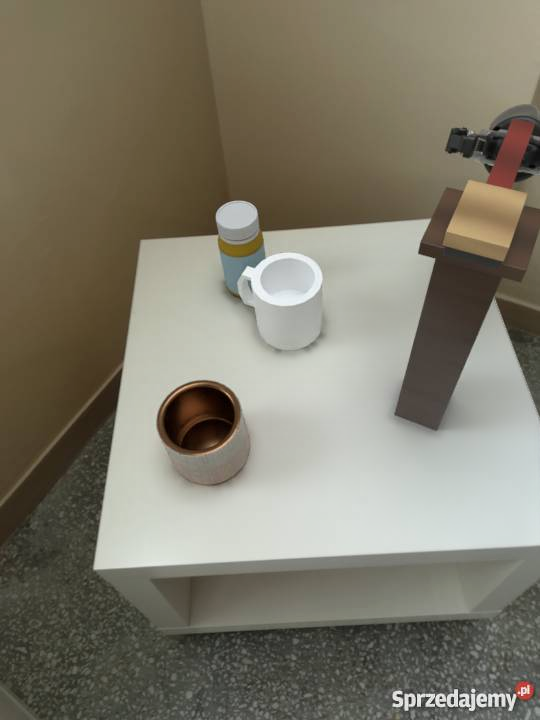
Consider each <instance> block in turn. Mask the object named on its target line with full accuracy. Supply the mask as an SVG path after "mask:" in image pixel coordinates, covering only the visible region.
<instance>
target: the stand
mask: <svg viewBox="0 0 540 720" xmlns="http://www.w3.org/2000/svg"><path fill="white" fill-rule="evenodd" d="M463 192H464V190H462V189H457V188H453V187H448V186H446V187H445V188H444V191H443V193H442V195H441V197H440V199H439V201H438V203H437V206H436V208H435V210H434V212H433V214H432V217H431V218H430V220H429V223H428V225H427V227H426V229H425V230H424V233H423V235H422V238H421V240H420V242H419V246H418V251H417V254H418V255H421V256H425V257H428V258H431V259H434V263H433V266H432V270H431V274H430V278H429V281H428V285H427V290H426V293H425V296H424V301H423V304H422V308H421V312H420V316H419V320H418V323H417V327H416V330H415V334H414V338H413V343H412V346H411V350H410V354H409V358H408V361H407V365H406V369H405V373H404V377H403V380H402V383H401V388H400V391H399V395H398V400H397V403H396V406H395V411H394V416H396V417H398V418H402V419H404V420H406V421H410V422H413V423H415V424H417V425H420V426H423V427H426V428H428V429H431V430H434V431H438V429H439V427H440V425H441V423H442V419H443V418H444V415H445V413H446V410H447V408H448V405H449V403H450V401H451V399H452V396H453V394H454V392H455V389H456V387H457V385H458V382H459V380H460V379H461V375H462V373H463V371H464V369H465V366H466V364H467V362H468V359H469V356H470V354H471V352H472V349H473V348H474V345H475V342H476V340H477V338H478V335H479V333H480V332H481V328H482V326H483V324H484V322H485V320H486V318H487V315H488V312H489V310H490V307H491V305H492V304H493V301H494V299H495V297H496V294H497V291H498V289H499V287H500V284H501V282H502V279H506V280H510V281H512V282H513V281H514V282H517V283H522V282H523V281H524V277H525V276H526V273H527V271H528V269H529V265H530V261H531V259H532V255H533V252H534V249H535V246H536V242H537V240H538V236H539V234H540V208H537V207H533V206H529V205H525V204H524V207H523V210H522V212H521V215H520V218H519V221H518V224H517V227H516V230H515V233H514V236H513V238H512V241H511V244H510V247H509V250H508V252H507V255H506V257H505V259H504V261H503V262H502V261H501V262H500V264H499V267H498V269H493V268H490V267H486V266H483V265H479V264H475V263H472V262H468V261H464V260H461V259H457V258H453V257H450V256H446V255H443V251H444V248H445V246H443V241H444V237H445V234H446V230H447V228H448V226H449V224H450V221H451V219H452V217H453V215H454V212H455V210H456V208H457V205H458V203H459V201H460V199H461V196H462V194H463Z"/></svg>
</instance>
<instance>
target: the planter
mask: <svg viewBox="0 0 540 720" xmlns="http://www.w3.org/2000/svg"><path fill="white" fill-rule="evenodd" d="M155 428H156V431H157V435H158V437H159V439H160V441H161V443H162V445H163V446H164V448H165V450H166V452H167V454H168V456H169V458H170V460H171V462H172V464H173V466H174V468H175V469H176V470H177V472H178V473H179V474H180V475H181V476H182V477H183V478H185V479H186V480H188V481H190V482H192V483H195V484H199V485H205V486H206V485H207V486H208V485H209V486H210V485H216V484H220V483H223V482H225V481H228V480H229V479H231V478H233V477H234V476H235V475H236V474H238V473H239V472H240V471H241V470H242V468H243V467H244V465H245V464H246V462H247V460H248V458H249V454H250V448H251V437H250V434H249V430H248V426H247V423H246V420H245V416H244V412H243V408H242V404H241V401H240V400H239V397H238V396H237V394H236V393H235V392H234V391H233V390H232V389H231V388H230V387H229V386H227V385H226V384H224V383H221V382H219V381H216V380H212V379H197V380H191V381H188V382H185V383H182V384H181V385H179V386H177V387H176V388H174V389H173V390H172V391H170V392H169V393H168V394H167V395H166V397H165V398H164V399H163V400H162V402H161V404H160V405H159V408H158V411H157V413H156V418H155Z"/></svg>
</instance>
